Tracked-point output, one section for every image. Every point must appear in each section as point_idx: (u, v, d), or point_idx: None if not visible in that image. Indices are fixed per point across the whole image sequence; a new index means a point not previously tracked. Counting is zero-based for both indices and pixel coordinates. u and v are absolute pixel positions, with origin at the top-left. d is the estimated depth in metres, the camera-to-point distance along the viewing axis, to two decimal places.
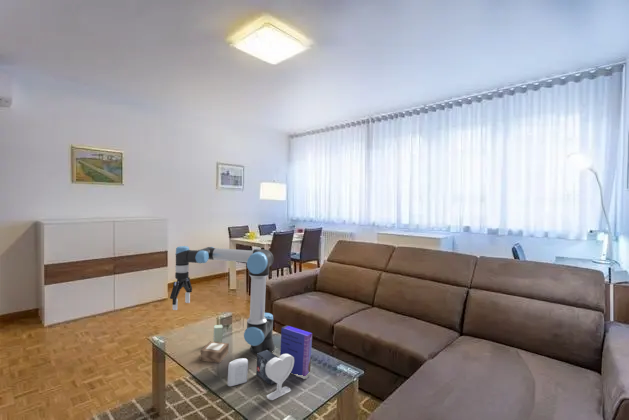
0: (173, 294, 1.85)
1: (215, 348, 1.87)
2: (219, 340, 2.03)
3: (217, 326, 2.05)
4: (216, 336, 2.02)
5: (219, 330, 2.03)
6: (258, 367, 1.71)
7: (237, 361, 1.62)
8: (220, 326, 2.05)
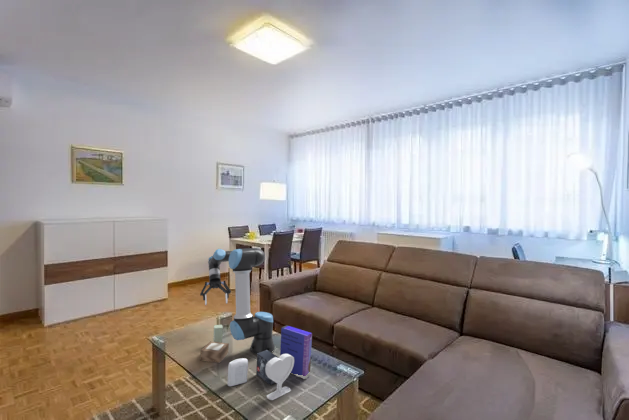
0: (201, 291, 2.16)
1: (215, 348, 1.87)
2: (219, 340, 2.03)
3: (217, 326, 2.05)
4: (216, 336, 2.02)
5: (219, 330, 2.03)
6: (258, 367, 1.71)
7: (237, 361, 1.62)
8: (220, 326, 2.05)
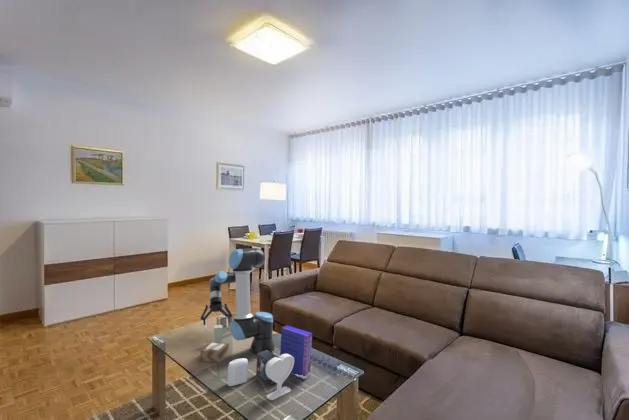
0: (202, 315, 2.11)
1: (215, 348, 1.87)
2: (219, 340, 2.03)
3: (217, 326, 2.05)
4: (216, 336, 2.02)
5: (219, 330, 2.03)
6: (258, 367, 1.71)
7: (237, 361, 1.62)
8: (220, 326, 2.05)
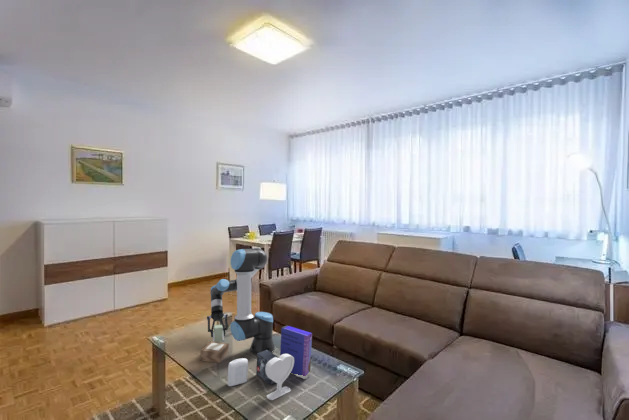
0: (208, 327, 2.05)
1: (215, 348, 1.87)
2: (219, 340, 2.03)
3: (217, 326, 2.05)
4: (216, 336, 2.02)
5: (219, 330, 2.03)
6: (258, 367, 1.71)
7: (237, 361, 1.62)
8: (220, 326, 2.05)
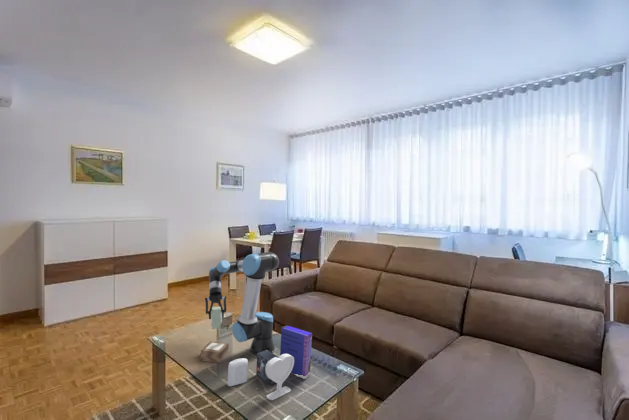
0: None
1: (215, 348, 1.87)
2: (217, 322, 1.95)
3: (216, 307, 1.98)
4: (214, 317, 1.95)
5: (217, 312, 1.95)
6: (258, 367, 1.71)
7: (237, 361, 1.62)
8: (218, 308, 1.97)
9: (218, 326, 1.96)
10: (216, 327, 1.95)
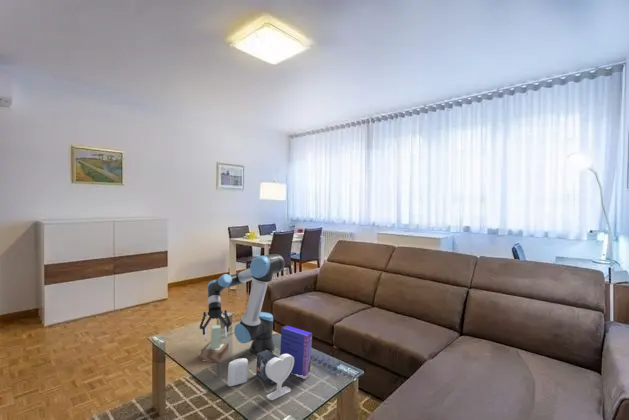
0: None
1: (215, 348, 1.87)
2: (217, 341, 1.87)
3: (215, 326, 1.90)
4: (213, 337, 1.87)
5: (217, 330, 1.87)
6: (258, 367, 1.71)
7: (237, 361, 1.62)
8: (218, 326, 1.89)
9: (218, 345, 1.88)
10: (215, 347, 1.87)
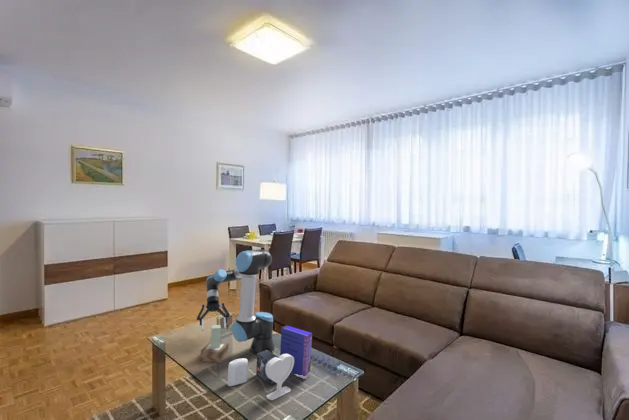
0: (198, 315, 2.01)
1: (215, 348, 1.87)
2: (217, 341, 1.87)
3: (215, 326, 1.90)
4: (213, 337, 1.87)
5: (217, 330, 1.87)
6: (258, 367, 1.71)
7: (237, 361, 1.62)
8: (218, 326, 1.89)
9: (218, 345, 1.88)
10: (215, 347, 1.87)
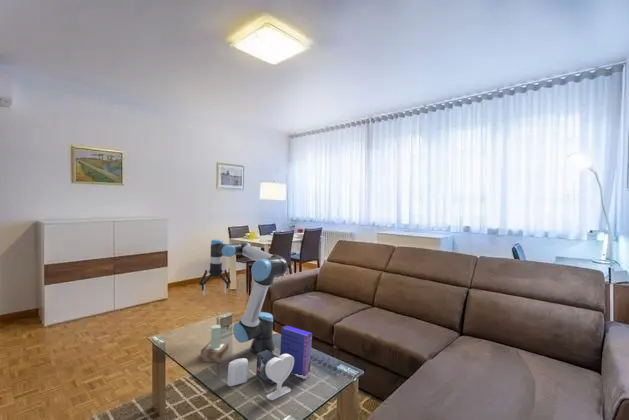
0: (200, 280, 2.07)
1: (215, 348, 1.87)
2: (217, 341, 1.87)
3: (215, 326, 1.90)
4: (213, 337, 1.87)
5: (217, 330, 1.87)
6: (258, 367, 1.71)
7: (237, 361, 1.62)
8: (218, 326, 1.89)
9: (218, 345, 1.88)
10: (215, 347, 1.87)
